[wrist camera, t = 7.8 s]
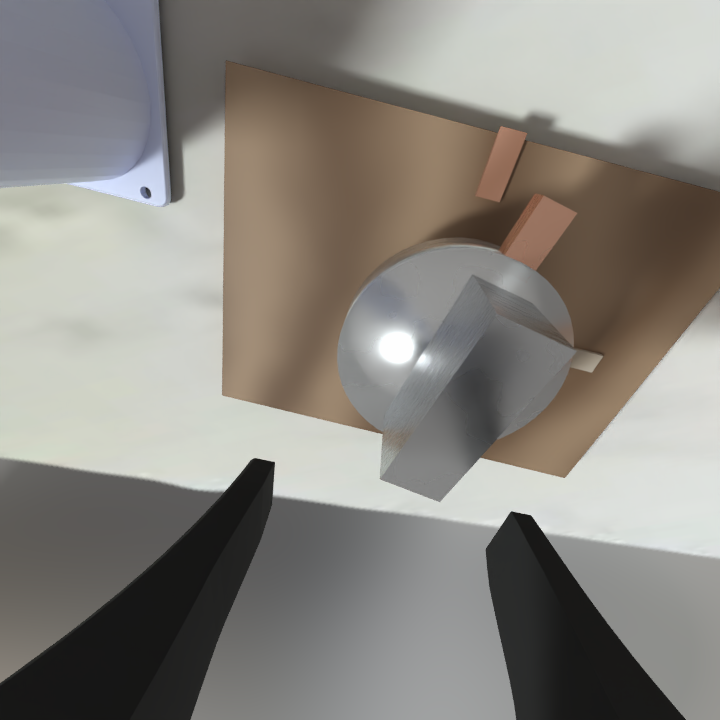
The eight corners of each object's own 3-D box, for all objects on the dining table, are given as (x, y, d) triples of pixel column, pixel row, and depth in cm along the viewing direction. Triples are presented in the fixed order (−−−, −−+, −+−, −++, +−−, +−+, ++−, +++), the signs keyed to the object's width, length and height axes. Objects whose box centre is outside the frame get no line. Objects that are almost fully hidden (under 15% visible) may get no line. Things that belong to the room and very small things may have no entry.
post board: (230, 384, 22) (207, 414, 19) (238, 61, 13) (200, 38, 11) (557, 463, 22) (577, 502, 20) (759, 200, 14) (840, 209, 11)
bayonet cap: (474, 444, 18) (501, 544, 13) (316, 378, 17) (284, 463, 12) (641, 252, 12) (787, 308, 8) (424, 138, 11) (440, 122, 7)
